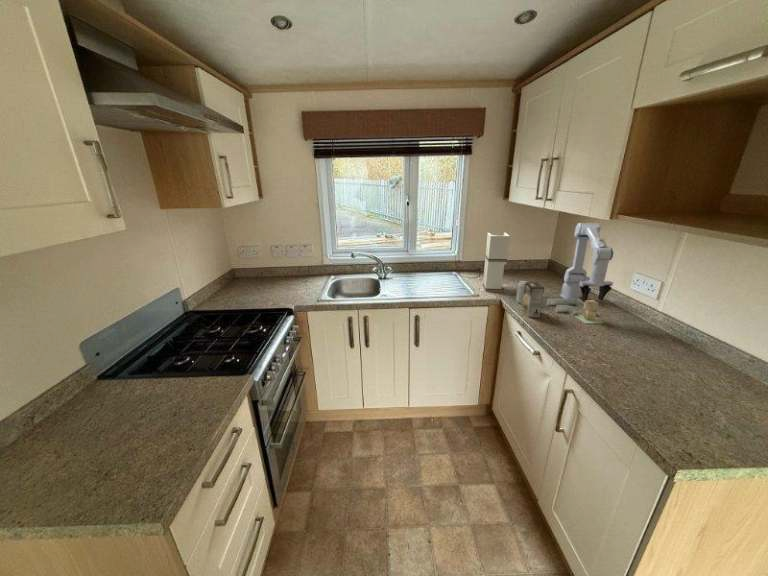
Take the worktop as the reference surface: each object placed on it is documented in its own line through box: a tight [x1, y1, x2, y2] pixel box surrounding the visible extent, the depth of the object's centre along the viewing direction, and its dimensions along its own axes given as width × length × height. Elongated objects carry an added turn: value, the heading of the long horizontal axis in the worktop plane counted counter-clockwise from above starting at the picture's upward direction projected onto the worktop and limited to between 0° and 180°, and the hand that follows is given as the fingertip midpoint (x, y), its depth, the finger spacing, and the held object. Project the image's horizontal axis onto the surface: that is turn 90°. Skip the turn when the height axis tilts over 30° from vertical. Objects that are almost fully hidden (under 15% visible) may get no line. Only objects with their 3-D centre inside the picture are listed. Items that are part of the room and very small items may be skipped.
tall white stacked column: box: [482, 232, 511, 293], centre depth 188 cm, size 11×11×35 cm
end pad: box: [573, 314, 605, 325], centre depth 150 cm, size 9×9×1 cm
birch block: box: [581, 299, 600, 320], centre depth 149 cm, size 4×4×9 cm
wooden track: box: [546, 297, 585, 316], centre depth 161 cm, size 15×16×4 cm
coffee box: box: [521, 281, 545, 318], centre depth 156 cm, size 9×6×16 cm
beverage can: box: [515, 280, 528, 304], centre depth 171 cm, size 6×6×12 cm
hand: (592, 299), depth 147 cm, fingers open, 7 cm apart
